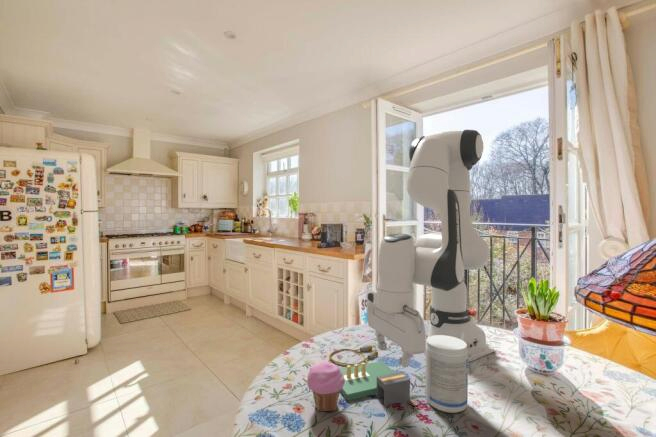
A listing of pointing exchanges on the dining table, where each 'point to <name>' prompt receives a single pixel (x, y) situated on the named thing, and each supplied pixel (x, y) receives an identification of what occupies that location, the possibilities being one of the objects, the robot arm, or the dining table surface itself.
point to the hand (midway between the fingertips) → (392, 357)
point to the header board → (362, 379)
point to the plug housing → (393, 388)
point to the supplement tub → (446, 373)
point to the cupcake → (325, 385)
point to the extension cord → (364, 348)
